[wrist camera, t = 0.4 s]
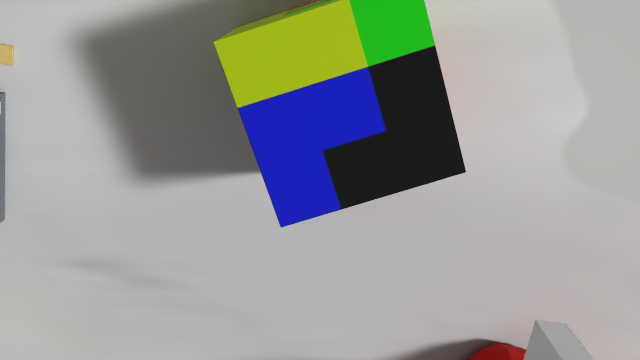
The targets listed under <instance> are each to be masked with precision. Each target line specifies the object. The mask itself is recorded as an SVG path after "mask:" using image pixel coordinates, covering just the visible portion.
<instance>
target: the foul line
mask: <svg viewBox="0 0 640 360" xmlns="http://www.w3.org/2000/svg"><path fill="white" fill-rule="evenodd" d="M13 54H14V46H10V45H4V44H0V63H1V64H7V65H13Z"/></svg>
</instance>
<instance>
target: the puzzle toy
mask: <svg viewBox="0 0 640 360" xmlns="http://www.w3.org/2000/svg"><path fill="white" fill-rule="evenodd" d="M214 45H215V48H216V50H217V53H218V56H219V58H220V61H221V64H222V67H223V69H224V72H225V75H226V78H227V80H228V83H229V86H230V89H231V91H232V94H233V97H234V100H235V102H236V105H237V108H238V111H239V113H240V116H241V119H242V122H243V124H244V127H245V130H246V133H247V135H248V138H249V141H250V144H251V146H252V149H253V152H254V155H255V157H256V160H257V163H258V166H259V168H260V171H261V174H262V177H263V179H264V182H265V185H266V188H267V190H268V193H269V196H270V199H271V201H272V204H273V207H274V210H275V212H276V215H277V218H278V221H279V223H280V226H281V227H284V226H287V225H291V224H294V223H297V222H301V221H304V220H308V219H311V218H314V217H318V216H321V215H324V214H328V213H331V212H334V211H338V210H341V209H344V208H348V207H351V206H354V205H358V204H361V203H364V202H368V201H371V200H374V199H378V198H381V197H384V196H388V195H391V194H394V193H398V192H401V191H404V190H408V189H411V188H414V187H418V186H421V185H424V184H428V183H431V182H435V181H438V180H441V179H445V178H448V177H451V176H455V175H458V174H461V173H465V172H466V170H465V166H464V162H463V158H462V154H461V150H460V146H459V142H458V137H457V133H456V129H455V125H454V121H453V117H452V113H451V109H450V105H449V101H448V96H447V92H446V88H445V84H444V80H443V76H442V72H441V68H440V64H439V60H438V56H437V51H436V47H435V43H434V39H433V35H432V31H431V27H430V23H429V19H428V15H427V10H426V6H425V2H424V0H318V1H315V2H312V3H309V4H306V5H303V6H300V7H297V8H293V9H290V10H287V11H284V12H281V13H278V14H275V15H272V16H269V17H266V18H263V19H260V20H257V21H254V22H251V23H248V24H245V25H242V26H239V27H236V28H235V29H233V30H231V31H230V32H228V33H227V34H225V35H224V36H222V37H220V38H219V39H217V40H216V41H214Z"/></svg>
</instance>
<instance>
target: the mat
mask: <svg viewBox="0 0 640 360" xmlns="http://www.w3.org/2000/svg"><path fill="white" fill-rule="evenodd" d="M4 219H5V93H4V92H0V223H1V222H2V221H3V220H4Z"/></svg>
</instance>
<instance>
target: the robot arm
mask: <svg viewBox="0 0 640 360" xmlns="http://www.w3.org/2000/svg"><path fill="white" fill-rule="evenodd" d="M524 360H594V359H593V358H592V356H591V355H590V354H589V353H588V351H587V350H586V349H585V347H584V346H583V345H582V343H581V342H580V341H579V339H578V338H577V337H576V335H575V334H574V333H573V332H572V330H571V329H570V328H569V326H568V325H567V324H563V323H555V322H547V321H539V320H536V321H535V324H534V327H533V331H532V334H531V337H530V340H529V344H528V347H527V350H526V354H525V357H524Z"/></svg>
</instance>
